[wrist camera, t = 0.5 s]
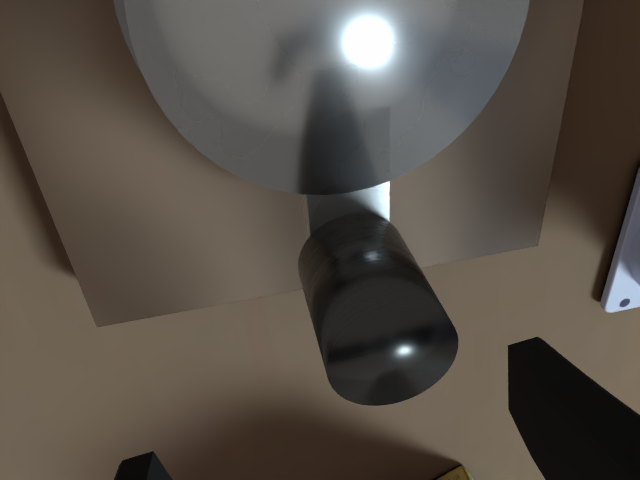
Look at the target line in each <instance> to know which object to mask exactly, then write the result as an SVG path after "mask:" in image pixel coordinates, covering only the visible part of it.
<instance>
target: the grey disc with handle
mask: <svg viewBox="0 0 640 480" xmlns="http://www.w3.org/2000/svg"><path fill="white" fill-rule="evenodd" d="M529 2H530V0H124V4H125V14H126V19H127V24H128V29H129V35H130V40H131V43H132V46H133V49H134V53H135V56H136V59H137V62H138V65H139V68H140V70H141V72H142V74H143V76H144V79H145V81H146V83H147V85H148V87H149V89H150V91H151V93H152V95H153V97H154V98H155V100H156V101H157V103H158V104H159V106H160V108H161V109H162V111H163V112H164V114H165V115H166V117H167V118H168V119H169V120H170V122H171V123H172V124H173V125H174V126H175V128H176V129H177V130H178V131H179V132H180V134H181V135H182V136H183V137H184V138H185V139H186V140H187V141H188V142H189V143H191V144H192V145H193V146H194V147H195V148H196V149H197V150H198V151H199V152H200V153H201V154H203V155H204V156H206V157H207V158H208V159H210V160H211V161H213V162H214V163H215V164H217V165H218V166H220V167H221V168H223V169H225V170H227V171H229V172H230V173H232V174H234V175H236V176H238V177H240V178H242V179H244V180H247V181H249V182H252V183H254V184H257V185H260V186H262V187H266V188H270V189H274V190H278V191H282V192H288V193H296V194H300V196H301V205H302V215H303V225H304V234H305V244H304V245H303V247H302V250H301V252H300V255H299V259H298V272H299V276H300V280H301V284H302V287H303V291H304V294H305V298H306V302H307V305H308V309H309V312H310V316H311V319H312V323H313V327H314V330H315V334H316V337H317V341H318V344H319V348H320V352H321V355H322V359H323V362H324V366H325V370H326V373H327V377H328V380H329V382H330V385H331V386H332V388H333V389H334V390H335V391H336V392H337V394H339V395H340V396H341V397H343V398H345V399H346V400H348V401H351V402H354V403H357V404H362V405H374V406H378V405H388V404H393V403H397V402H401V401H404V400H407V399H410V398H412V397H414V396H416V395H418V394H420V393H422V392H424V391H425V390H427V389H428V388H430V387H431V386H432V385H434V384H435V383H436V382H437V381H438V380H440V379H441V378H442V377H443V376H444V374H445V373H446V372H447V371H448V369H449V368H450V366H451V365H452V363H453V361H454V359H455V356H456V354H457V349H458V336H457V332H456V330H455V327H454V326H453V324H452V322H451V321H450V319H449V317H448V315H447V314H446V312H445V310H444V308H443V307H442V305H441V303H440V302H439V300H438V298H437V296H436V295H435V293H434V291H433V290H432V288H431V286H430V284H429V283H428V281H427V279H426V277H425V276H424V274H423V272H422V271H421V269H420V267H419V265H418V264H417V262H416V260H415V258H414V257H413V255H412V253H411V252H410V250H409V248H408V246H407V245H406V243H405V241H404V240H403V238H402V236H401V234H400V233H399V231H398V230H397V228H396V227H395V226H394V225H393V224H392V223H390V222H389V191H390V181H391V180H393V179H396V178H398V177H400V176H402V175H404V174H406V173H408V172H410V171H412V170H414V169H415V168H417V167H419V166H420V165H422V164H424V163H425V162H427V161H429V160H430V159H432V158H433V157H434V156H435V155H437V154H438V153H439V152H441V151H442V150H443V149H445V148H446V147H447V146H448V145H450V144H451V143H452V142H453V141H454V140H455V139H456V138H457V137H458V136H459V135H460V134H461V133H462V132H463V131H464V130H465V129H466V128H467V127H468V126H469V125H470V124H471V123H472V121H473V120H474V119H475V118H476V117H477V116H478V114H479V113H480V112H481V111H482V110H483V108H484V107H485V105H486V104H487V102H488V101H489V100H490V98H491V97H492V95H493V94H494V92H495V91H496V89H497V88H498V86H499V84H500V82H501V80H502V78H503V77H504V75H505V73H506V71H507V69H508V68H509V65H510V63H511V60H512V58H513V56H514V53H515V51H516V49H517V46H518V44H519V41H520V38H521V34H522V31H523V28H524V25H525V21H526V18H527V13H528V8H529Z"/></svg>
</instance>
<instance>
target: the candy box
mask: <svg viewBox="0 0 640 480" xmlns="http://www.w3.org/2000/svg"><path fill="white" fill-rule="evenodd" d="M436 480H474V479H473V478H472V476H471V475H470V474H469V472H468V471H467V470H466V469H465V467H463V466H459V467H457V468H455V469H453V470H452V471H450V472H448V473H447V474H446V475H444V476H442V477H440V478H438V479H436Z"/></svg>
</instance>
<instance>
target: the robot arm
mask: <svg viewBox="0 0 640 480" xmlns="http://www.w3.org/2000/svg"><path fill="white" fill-rule="evenodd" d="M600 305H601V307H602V308H603V309H604V310H605V311H606V312H616V311H621V310H626V309H631V308H636V307H640V167H639V170H638V174H637V177H636V180H635V184H634V187H633V191H632V194H631V198H630V201H629V205H628V208H627V212H626V215H625V219H624V222H623V226H622V229H621V232H620V236H619V239H618V243H617V246H616V250H615V253H614V257H613V260H612V264H611V267H610V271H609V274H608V278H607V281H606V284H605V288H604V291H603V295H602V298H601V302H600ZM508 399H509V411H510V413H511V415H512V418H513V420H514V422H515V424H516V426H517V428H518V430H519V432H520V434H521V436H522V438H523V440H524V442H525V444H526V446H527V448H528V450H529V452H530V454H531V457H532V458H533V460H534V462H535V463H536V465H537V466H538V468H539V470H540V471H541V473H542V475H543V476H544V478H545V479H546V480H640V415H639V414H638V413H636V412H635V411H633V410H632V409H631V408H629V407H628V406H627V405H625V404H624V403H622V402H621V401H620V400H618V399H617V398H616V397H614V396H613V395H612V394H610V393H609V392H608V391H606V390H605V389H604V388H602V387H601V386H600V385H599V384H597V383H596V382H595V381H593V380H592V379H591V378H590V377H588V376H587V375H586V374H584V373H583V372H582V371H581V370H579V369H578V368H577V367H576V366H574V365H573V364H572V363H571V362H569V361H568V360H567V359H566V358H564V357H563V356H562V355H561V354H559V353H558V352H557V351H556V350H555V349H553V348H552V347H551V346H550V345H548V344H547V343H546V342H545V341H544V340H542V339H541V338H539V337H535V338H532V339H528V340H525V341H521V342H518V343H515V344H511V345H508ZM114 480H172V479H171V477H170V476H169V474H168V473H167V471H166V470H165V468H164V467H163V465H162V464H161V462H160V461H159V459H158V457H157V456H156V454H155V453H154V451H152V452H149V453H146V454H142V455H139V456H136V457H132V458H129V459H126V460H123V461H122V462H121V464H120V465H119V468H118V470H117V473H116V476H115V478H114Z"/></svg>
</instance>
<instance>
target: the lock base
mask: <svg viewBox="0 0 640 480" xmlns="http://www.w3.org/2000/svg"><path fill="white" fill-rule="evenodd" d="M583 5H584V0H530V2H529V8H528V13H527V18H526V21H525V25H524V28H523V31H522V34H521V38H520V41H519V44H518V46H517V49H516V51H515V53H514V56H513V58H512V60H511V63H510V65H509V68H508V69H507V71H506V73H505V75H504V77H503V78H502V80H501V82H500V84H499V86H498V88H497V89H496V91H495V92H494V94H493V95H492V97H491V98H490V100H489V101H488V102H487V104H486V105H485V107H484V108H483V110H482V111H481V112H480V113H479V114H478V116H477V117H476V118H475V119H474V120H473V121H472V123H471V124H470V125H469V126H468V127H467V128H466V129H465V130H464V131H463V132H462V133H461V134H460V135H459V136H458V137H457V138H456V139H455V140H454V141H453V142H452V143H451V144H450V145H448V146H447V147H446V148H445V149H443V150H442V151H441V152H439V153H438V154H437V155H435V156H434V157H433V158H432V159H430V160H429V161H427V162H425V163H424V164H422V165H420V166H419V167H417V168H415V169H414V170H412V171H410V172H408V173H406V174H404V175H402V176H400V177H398V178H396V179H393V180H391V181H390V191H389V222H390V223H392V224H393V225H394V226H395V227H396V228H397V230H398V231H399V233H400V234H401V236H402V238H403V240H404V241H405V243H406V245H407V246H408V248H409V250H410V252H411V253H412V255H413V257H414V258H415V260H416V262H417V264H418V265H419V267H426V266H431V265H437V264H442V263H447V262H453V261H458V260H464V259H469V258H475V257H480V256H485V255H491V254H496V253H502V252H507V251H512V250H518V249H523V248H529V247H534V246H538V243H539V238H540V233H541V227H542V222H543V217H544V211H545V206H546V201H547V195H548V190H549V185H550V180H551V174H552V169H553V164H554V158H555V153H556V148H557V143H558V137H559V132H560V127H561V121H562V116H563V111H564V106H565V100H566V95H567V90H568V84H569V79H570V74H571V69H572V63H573V58H574V53H575V47H576V42H577V37H578V31H579V26H580V21H581V16H582V10H583ZM0 92H1V94H2V97H3V99H4V102H5V104H6V107H7V109H8V112H9V114H10V116H11V119H12V121H13V124H14V126H15V129H16V131H17V133H18V136H19V138H20V141H21V143H22V146H23V148H24V151H25V153H26V155H27V158H28V160H29V163H30V165H31V168H32V170H33V172H34V175H35V177H36V180H37V182H38V185H39V187H40V190H41V192H42V194H43V197H44V199H45V202H46V204H47V207H48V209H49V211H50V214H51V216H52V219H53V221H54V224H55V226H56V229H57V231H58V233H59V236H60V238H61V241H62V243H63V246H64V248H65V250H66V253H67V255H68V258H69V260H70V263H71V265H72V267H73V270H74V272H75V275H76V277H77V280H78V282H79V285H80V287H81V289H82V292H83V294H84V297H85V299H86V302H87V304H88V306H89V309H90V311H91V314H92V316H93V319H94V321H95V324H96V326H97V327H101V326H107V325H112V324H117V323H123V322H128V321H134V320H139V319H144V318H150V317H155V316H161V315H166V314H171V313H177V312H182V311H188V310H193V309H199V308H204V307H209V306H215V305H220V304H226V303H231V302H236V301H242V300H247V299H253V298H258V297H263V296H269V295H274V294H280V293H285V292H291V291H296V290H301V289H303V287H302V284H301V280H300V276H299V272H298V259H299V255H300V252H301V250H302V247H303V245H304V244H305V234H304V225H303V215H302V205H301V196H300V194H296V193H288V192H282V191H278V190H274V189H270V188H266V187H262V186H260V185H257V184H254V183H252V182H249V181H247V180H244V179H242V178H240V177H238V176H236V175H234V174H232V173H230V172H229V171H227V170H225V169H223V168H221V167H220V166H218V165H217V164H215V163H214V162H213V161H211V160H210V159H208V158H207V157H206V156H204V155H203V154H201V153H200V152H199V151H198V150H197V149H196V148H195V147H194V146H193V145H192V144H191V143H189V142H188V141H187V140H186V139H185V138H184V137H183V136H182V135H181V134H180V132H179V131H178V130H177V129H176V128H175V126H174V125H173V124H172V123H171V122H170V120H169V119H168V118H167V117H166V115H165V114H164V112H163V111H162V109H161V108H160V106H159V104H158V103H157V101H156V100H155V98H154V97H153V95H152V93H151V91H150V89H149V87H148V85H147V83H146V81H145V79H144V76H143V74H142V72H141V70H140V68H139V65H138V62H137V59H136V56H135V53H134V49H133V46H132V43H131V40H130V35H129V29H128V24H127V19H126V14H125V4H124V0H0Z"/></svg>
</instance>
